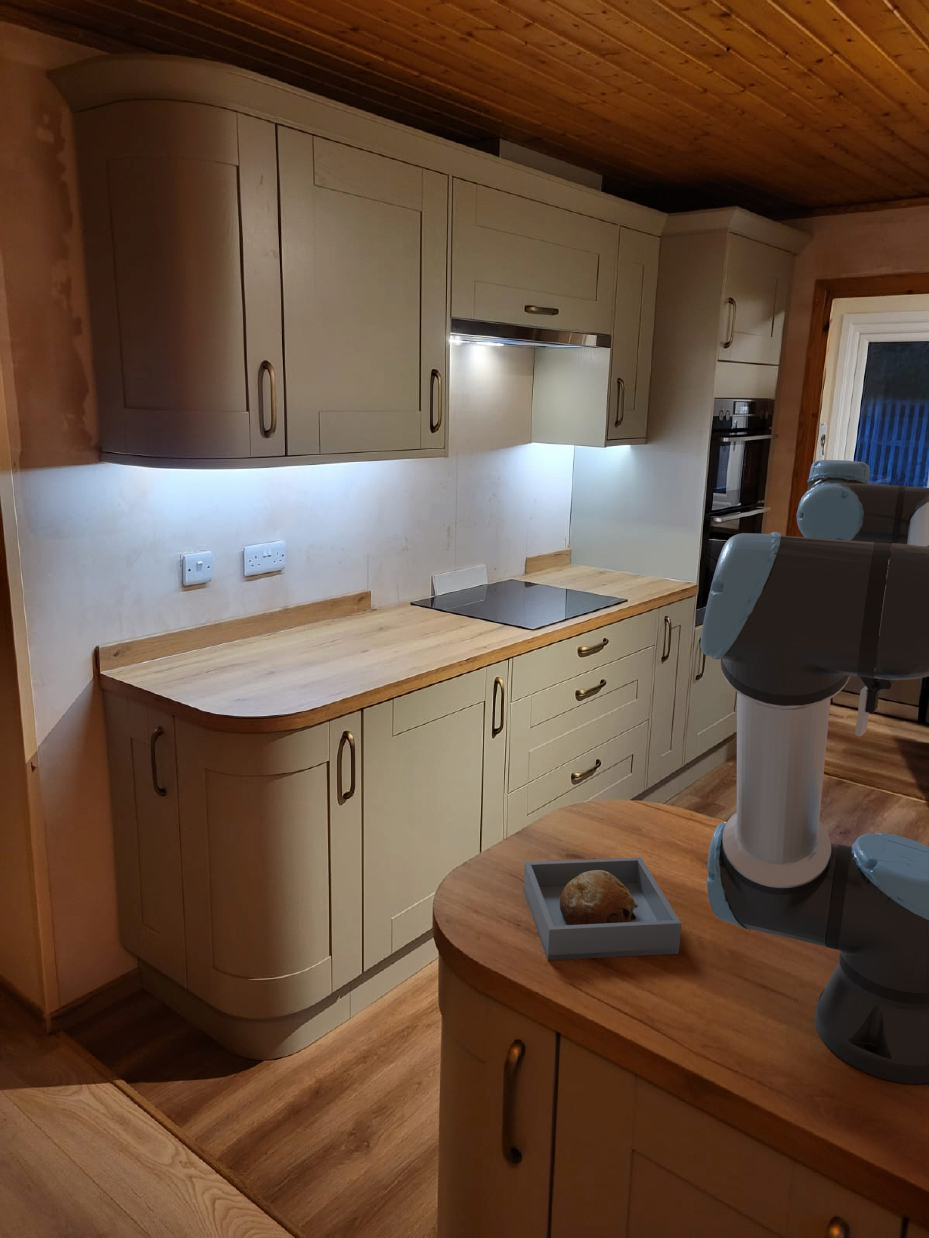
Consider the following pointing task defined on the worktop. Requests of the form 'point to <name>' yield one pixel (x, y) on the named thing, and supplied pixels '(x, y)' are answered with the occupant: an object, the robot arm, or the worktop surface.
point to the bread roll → (596, 900)
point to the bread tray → (639, 937)
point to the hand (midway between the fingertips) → (810, 722)
